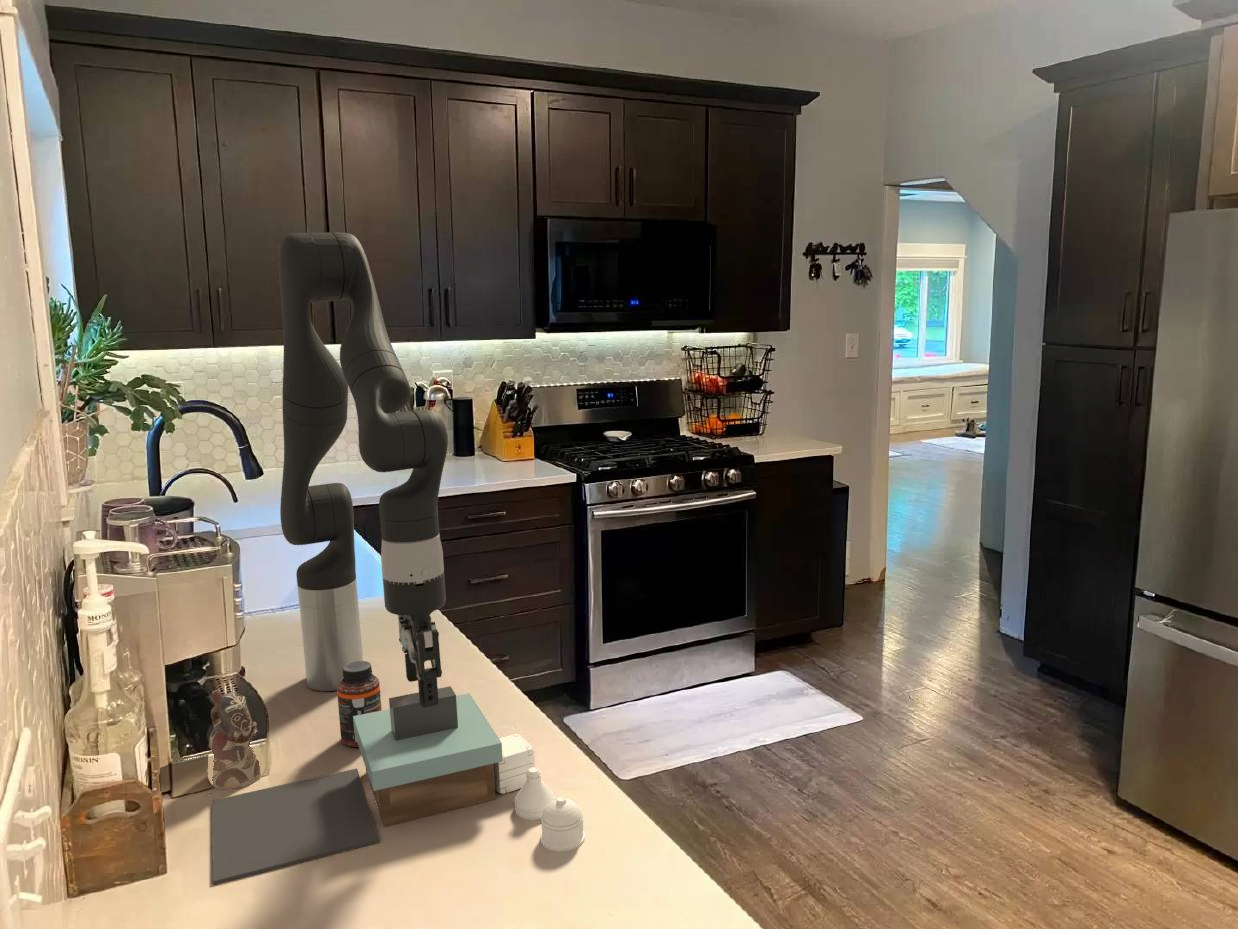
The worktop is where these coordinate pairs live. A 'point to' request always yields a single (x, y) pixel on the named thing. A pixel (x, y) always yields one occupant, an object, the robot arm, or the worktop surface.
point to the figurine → (232, 742)
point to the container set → (537, 796)
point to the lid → (425, 739)
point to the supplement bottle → (356, 697)
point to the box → (435, 795)
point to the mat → (290, 824)
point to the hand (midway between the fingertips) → (422, 692)
